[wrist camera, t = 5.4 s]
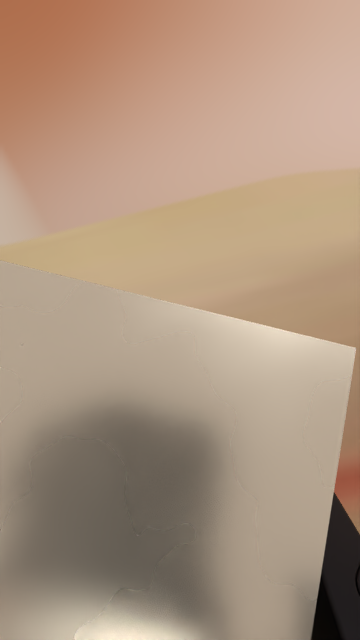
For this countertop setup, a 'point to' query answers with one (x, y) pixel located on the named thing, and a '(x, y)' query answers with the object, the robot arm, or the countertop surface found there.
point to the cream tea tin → (160, 466)
